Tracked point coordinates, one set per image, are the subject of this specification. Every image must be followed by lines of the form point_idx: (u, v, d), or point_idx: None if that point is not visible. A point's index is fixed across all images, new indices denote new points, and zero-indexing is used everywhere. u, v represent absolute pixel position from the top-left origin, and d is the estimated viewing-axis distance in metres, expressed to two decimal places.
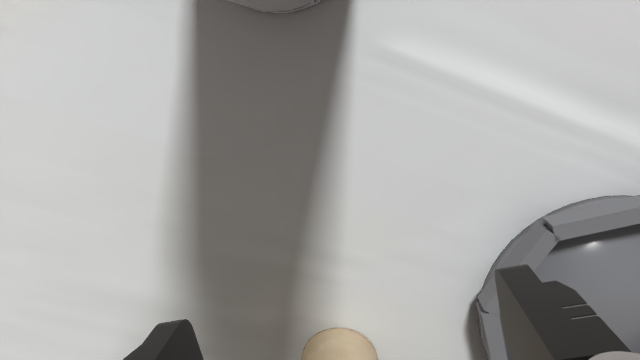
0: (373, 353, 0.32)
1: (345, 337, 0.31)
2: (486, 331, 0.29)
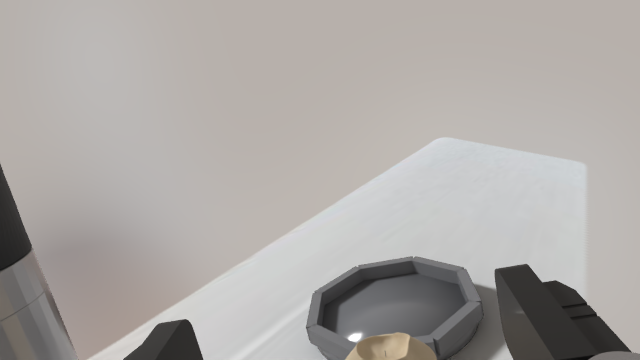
0: None
1: None
2: None
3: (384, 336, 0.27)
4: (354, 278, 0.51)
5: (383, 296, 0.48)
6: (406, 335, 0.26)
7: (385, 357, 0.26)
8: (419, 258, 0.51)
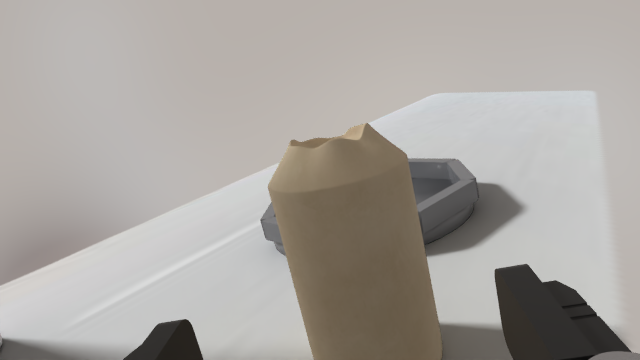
0: None
1: None
2: None
3: (334, 138, 0.19)
4: None
5: None
6: (363, 126, 0.18)
7: None
8: None
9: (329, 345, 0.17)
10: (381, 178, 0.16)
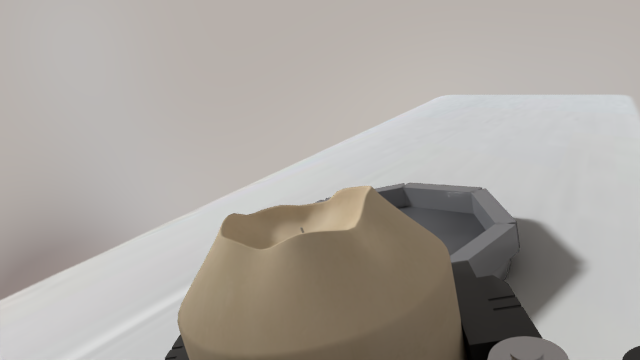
0: None
1: None
2: None
3: (310, 206, 0.10)
4: None
5: None
6: (363, 189, 0.10)
7: None
8: (414, 184, 0.35)
9: None
10: (402, 327, 0.07)
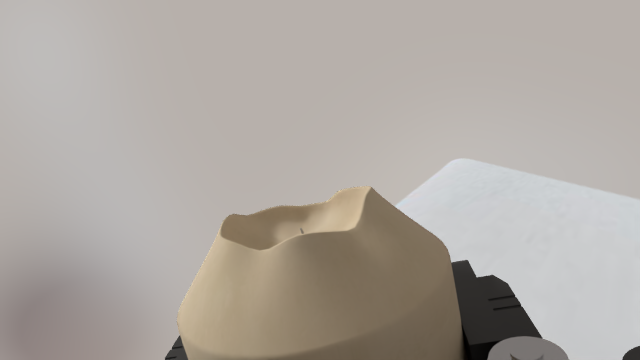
0: None
1: None
2: None
3: (310, 206, 0.10)
4: None
5: None
6: (363, 190, 0.09)
7: None
8: None
9: None
10: (401, 329, 0.07)
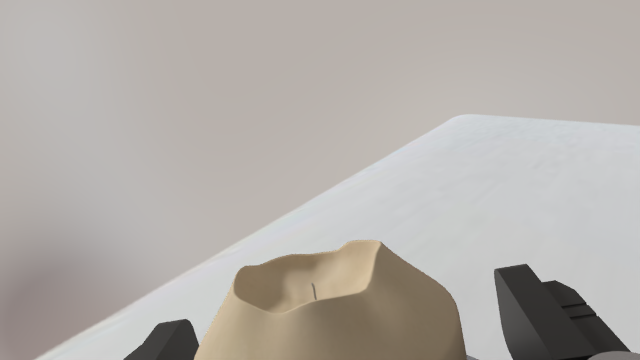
0: None
1: None
2: None
3: (320, 255, 0.11)
4: None
5: None
6: (372, 244, 0.10)
7: None
8: None
9: None
10: None
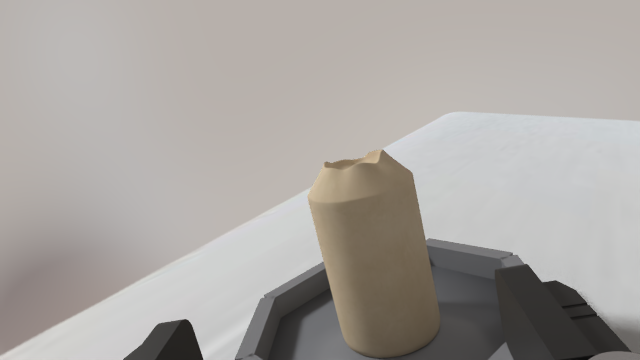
0: None
1: None
2: None
3: (356, 160, 0.25)
4: None
5: None
6: (379, 151, 0.24)
7: None
8: (435, 241, 0.32)
9: (354, 316, 0.23)
10: (393, 192, 0.21)
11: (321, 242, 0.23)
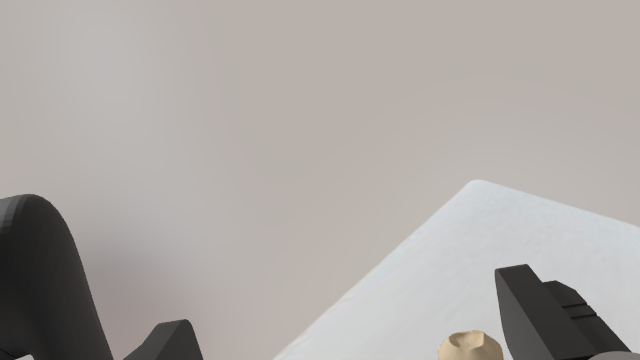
0: None
1: None
2: None
3: (464, 332, 0.42)
4: None
5: None
6: (480, 332, 0.41)
7: (467, 345, 0.41)
8: None
9: None
10: None
11: None
